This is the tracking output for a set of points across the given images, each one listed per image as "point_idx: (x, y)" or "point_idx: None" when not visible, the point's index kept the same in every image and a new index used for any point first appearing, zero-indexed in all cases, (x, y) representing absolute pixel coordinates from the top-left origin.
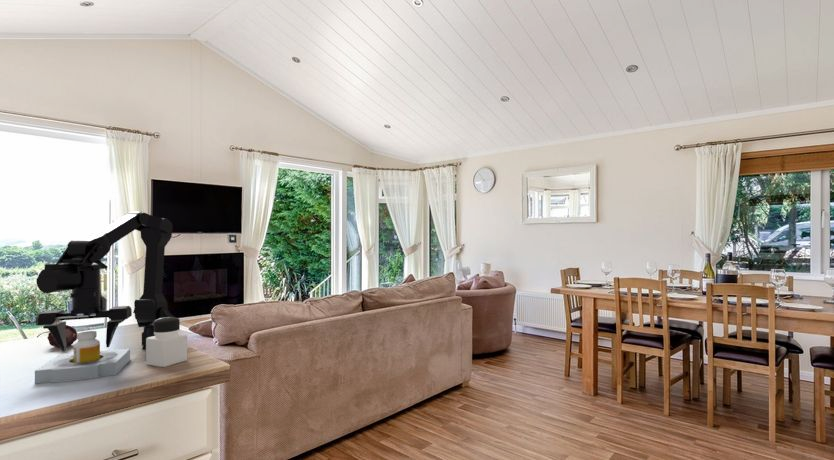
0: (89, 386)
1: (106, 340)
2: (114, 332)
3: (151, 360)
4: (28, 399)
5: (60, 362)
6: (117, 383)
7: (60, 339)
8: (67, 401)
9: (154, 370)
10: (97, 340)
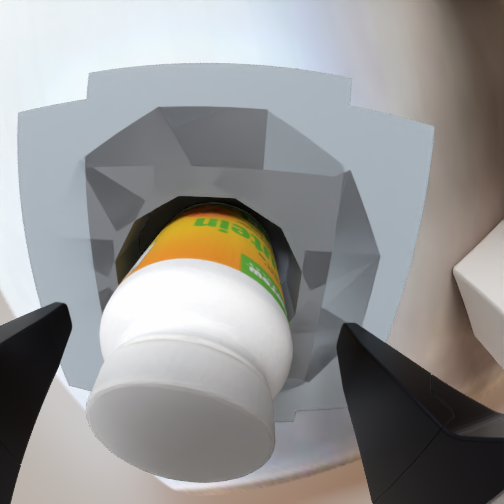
0: (276, 437)
1: (350, 405)
2: (434, 387)
3: (471, 306)
4: None
5: (91, 306)
6: (344, 433)
7: (34, 414)
8: (251, 482)
9: (448, 355)
10: (279, 378)
